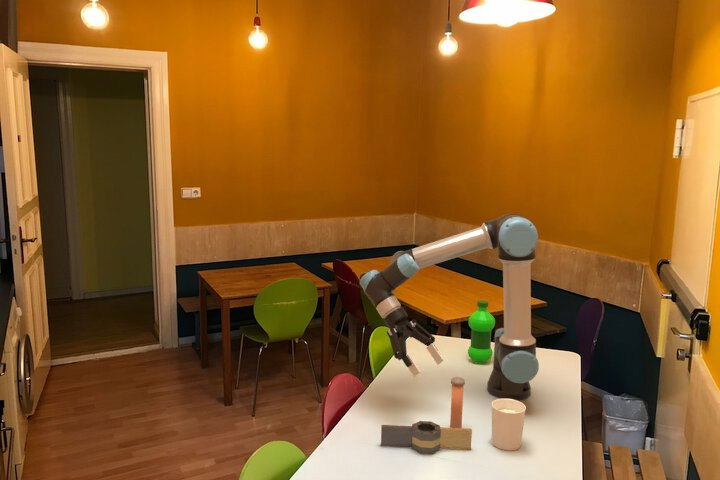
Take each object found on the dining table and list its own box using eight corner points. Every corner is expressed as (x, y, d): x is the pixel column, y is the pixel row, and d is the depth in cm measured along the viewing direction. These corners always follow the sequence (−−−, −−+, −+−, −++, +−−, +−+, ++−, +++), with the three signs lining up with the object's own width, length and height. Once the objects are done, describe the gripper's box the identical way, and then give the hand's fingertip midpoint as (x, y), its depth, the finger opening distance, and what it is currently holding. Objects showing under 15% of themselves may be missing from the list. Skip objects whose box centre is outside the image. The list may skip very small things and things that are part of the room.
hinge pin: (461, 425, 185) (464, 377, 182) (463, 432, 181) (465, 382, 178) (448, 425, 185) (450, 376, 183) (449, 431, 181) (451, 382, 178)
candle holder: (504, 455, 168) (507, 415, 166) (482, 439, 177) (484, 402, 175) (530, 447, 172) (533, 409, 170) (507, 432, 181) (510, 396, 179)
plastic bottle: (466, 356, 246) (468, 298, 242) (491, 357, 245) (495, 299, 241) (467, 364, 236) (470, 304, 232) (493, 366, 235) (497, 305, 231)
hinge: (468, 441, 175) (469, 423, 174) (472, 456, 167) (473, 436, 166) (381, 438, 176) (381, 419, 175) (380, 452, 168) (381, 432, 167)
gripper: (407, 311, 205) (442, 363, 198) (362, 327, 186) (399, 385, 179) (420, 299, 201) (457, 351, 194) (375, 314, 182) (414, 373, 175)
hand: (429, 368), depth 186 cm, fingers open, 13 cm apart
